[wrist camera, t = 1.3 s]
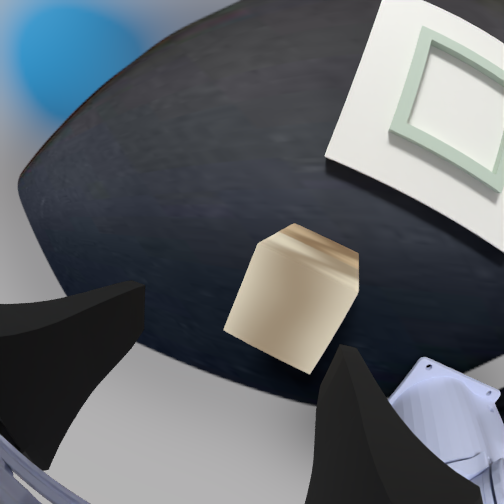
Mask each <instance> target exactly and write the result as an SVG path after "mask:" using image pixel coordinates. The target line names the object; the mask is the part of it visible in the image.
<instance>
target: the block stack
mask: <svg viewBox="0 0 504 504" xmlns="http://www.w3.org/2000/svg"><path fill="white" fill-rule="evenodd" d="M358 292H359V253H357V252H354V251H352V250H350V249H348V248H346V247H344V246H342V245H340V244H338V243H336V242H334V241H332V240H330V239H327V238H325V237H323V236H321V235H319V234H317V233H315V232H313V231H310V230H308V229H306V228H304V227H302V226H300V225H297V224H295V223H294V224H292V225H290V226H288V227H286V228H285V229H283V230H281V231H279V232H277V233H276V234H274V235H272V236H270V237H269V238H267V239H265V240H263V241H261V242H260V243H258V244H257V247H256V249H255V252H254V254H253V257H252V259H251V262H250V264H249V267H248V269H247V272H246V274H245V277H244V279H243V282H242V284H241V287H240V290H239V292H238V295H237V297H236V300H235V302H234V305H233V307H232V310H231V312H230V315H229V317H228V320H227V322H226V325H225V327H224V331H226V332H228V333H230V334H231V335H233V336H235V337H237V338H239V339H241V340H243V341H244V342H246V343H248V344H250V345H252V346H254V347H256V348H258V349H260V350H261V351H263V352H265V353H267V354H269V355H271V356H273V357H275V358H277V359H279V360H281V361H283V362H285V363H287V364H289V365H291V366H293V367H295V368H297V369H299V370H301V371H304V372H306V373H308V374H310V373H311V372H312V370H313V369H314V367H315V366H316V364H317V362H318V361H319V359H320V358H321V356H322V354H323V353H324V351H325V350H326V348H327V346H328V345H329V343H330V341H331V340H332V338H333V336H334V335H335V333H336V331H337V330H338V328H339V326H340V324H341V323H342V321H343V319H344V318H345V316H346V314H347V312H348V310H349V309H350V307H351V305H352V303H353V301H354V300H355V298H356V296H357V294H358Z"/></svg>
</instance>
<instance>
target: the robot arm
mask: <svg viewBox="0 0 504 504" xmlns="http://www.w3.org/2000/svg"><path fill="white" fill-rule="evenodd" d="M144 304H145V285H143V284H140V283H138V282H135V281H132V280H131V281H126V282H121V283H117V284H113V285H110V286H106V287H103V288H99V289H95V290H92V291H88V292H85V293H81V294H76V295H72V296H68V297H64V298H60V299H55V300H49V301H42V302H34V303H21V304H0V504H41V503H40V502H39V501H38V500H37V499H36V498H35V497H34V496H33V495H32V494H31V493H30V492H29V491H28V490H27V489H26V488H25V487H23V485H21V484H20V483H19V482H18V481H17V480H16V479H15V478H14V477H13V472H15V473H16V474H17V475H18V476H19V477H20V478H21V479H22V480H24V481H25V482H26V483H27V484H28V485H30V486H31V487H32V488H33V489H34V490H36V491H37V492H38V493H39V494H41V495H42V496H43V497H45V498H46V499H47V500H49V501H50V502H51V503H53V504H90V503H88V502H87V501H85V500H83V499H82V498H80V497H79V496H77V495H76V494H74V493H73V492H71V491H70V490H68V489H67V488H65V487H64V486H62V485H61V484H60V483H58V482H57V481H55V480H54V479H52V478H51V477H50V476H49V475H47V474H46V473H45V472H43V471H44V470H48V469H49V467H50V465H51V463H52V460H53V458H54V456H55V454H56V452H57V449H58V447H59V445H60V443H61V441H62V440H63V438H64V436H65V434H66V432H67V430H68V429H69V427H70V425H71V423H72V422H73V420H74V419H75V417H76V415H77V414H78V412H79V410H80V409H81V407H82V406H83V404H84V403H85V402H86V400H87V399H88V397H89V396H90V394H91V393H92V391H93V390H94V389H95V388H96V387H97V385H98V384H99V383H100V382H101V381H102V380H103V379H104V378H105V377H106V376H107V374H108V373H109V372H110V371H111V370H112V369H113V368H114V367H115V366H116V365H117V364H118V363H119V361H120V360H121V359H122V358H123V357H124V356H125V355H126V354H127V353H128V351H129V350H130V349H131V348H132V347H133V345H134V344H135V342H136V341H137V339H138V338H139V336H140V335H141V333H142V332H143V330H144ZM429 364H430V365H431V366H430V367H428V368H427V367H426V366H427V365H429ZM487 392H488V393H487ZM499 397H500V391H499V390H498V389H496V388H494V387H491V386H489V385H487V384H485V383H482V382H480V381H478V380H475V379H473V378H471V377H469V376H467V375H465V374H462V373H460V372H458V371H456V370H454V369H451V368H449V367H447V366H445V365H443V364H440V363H438V362H436V361H434V360H432V359H430V358H427V357H422V358H420V359H419V360H418V361H417V362H416V364H415V365H414V366H413V368H412V369H411V370H410V372H409V373H408V374H407V376H406V377H405V378H404V380H403V381H402V382H401V384H400V385H399V386H398V387H397V389H396V390H395V391H394V392H393V394H392V395H391V396H390V397H389V398H388V400H387V398H386V397H385V395H384V394H383V392H382V391H381V389H380V387H379V386H378V384H377V382H376V381H375V379H374V377H373V376H372V374H371V372H370V371H369V369H368V367H367V365H366V364H365V362H364V360H363V358H362V357H361V355H360V353H359V352H358V350H357V348H354V347H350V346H345V345H341V344H340V345H339V347H338V349H337V352H336V354H335V356H334V358H333V360H332V362H331V365H330V367H329V369H328V371H327V373H326V375H325V377H324V379H323V381H322V383H321V385H320V390H319V396H318V402H317V408H316V426H315V445H314V460H313V468H312V474H311V479H310V485H309V489H308V493H307V497H306V501H305V504H504V424H503V422H502V419H501V417H500V415H499V412H498V410H497V408H496V405H495V402H496V400H497V399H498V398H499ZM12 471H13V472H12Z"/></svg>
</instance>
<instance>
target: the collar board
mask: <svg viewBox="0 0 504 504" xmlns="http://www.w3.org/2000/svg"><path fill="white" fill-rule="evenodd" d="M325 157H326V158H328V159H330V160H333V161H335V162H337V163H340V164H342V165H344V166H347V167H349V168H351V169H353V170H356V171H358V172H360V173H362V174H364V175H366V176H369V177H371V178H373V179H375V180H377V181H379V182H381V183H383V184H385V185H387V186H389V187H391V188H393V189H395V190H397V191H399V192H401V193H403V194H405V195H407V196H409V197H411V198H413V199H415V200H417V201H419V202H420V203H422V204H424V205H426V206H428V207H430V208H431V209H433V210H435V211H437V212H439V213H440V214H442V215H444V216H446V217H447V218H449V219H451V220H452V221H454V222H456V223H457V224H459V225H461V226H462V227H464V228H466V229H467V230H469V231H471V232H472V233H474V234H475V235H477V236H479V237H480V238H482V239H483V240H485V241H486V242H488V243H489V244H491V245H492V246H494V247H495V248H497V249H498V250H500V251H501V252H503V253H504V44H503V43H502V42H500V41H499V40H497V39H496V38H494V37H493V36H491V35H489V34H488V33H486V32H484V31H483V30H481V29H479V28H478V27H476V26H474V25H472V24H470V23H469V22H467V21H465V20H463V19H461V18H459V17H457V16H455V15H453V14H451V13H449V12H447V11H445V10H443V9H441V8H439V7H437V6H434V5H432V4H430V3H427V2H425V1H423V0H382V2H381V5H380V8H379V11H378V14H377V17H376V20H375V22H374V25H373V28H372V31H371V34H370V37H369V40H368V42H367V45H366V48H365V51H364V53H363V56H362V59H361V62H360V64H359V67H358V70H357V73H356V75H355V78H354V81H353V83H352V86H351V89H350V91H349V94H348V97H347V99H346V102H345V105H344V107H343V110H342V112H341V115H340V118H339V120H338V123H337V125H336V128H335V131H334V133H333V136H332V138H331V141H330V143H329V146H328V148H327V151H326V153H325Z"/></svg>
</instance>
